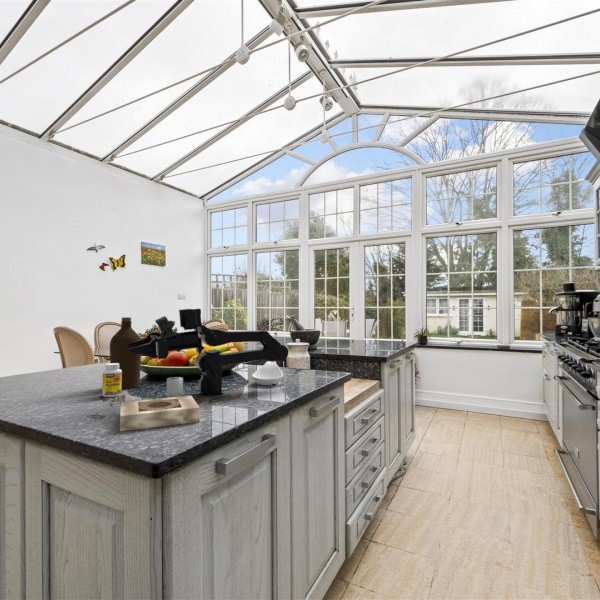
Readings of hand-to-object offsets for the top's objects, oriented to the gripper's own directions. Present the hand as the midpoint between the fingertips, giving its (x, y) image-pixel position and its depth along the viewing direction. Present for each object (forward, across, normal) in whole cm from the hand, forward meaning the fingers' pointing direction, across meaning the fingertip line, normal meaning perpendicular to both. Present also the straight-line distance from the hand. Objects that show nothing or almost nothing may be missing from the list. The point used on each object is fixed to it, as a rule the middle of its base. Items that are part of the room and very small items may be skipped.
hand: (128, 347), depth 113 cm
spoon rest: (-49, -10, +22) cm, 55 cm away
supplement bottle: (+6, -10, +17) cm, 21 cm away
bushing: (-10, +12, +17) cm, 23 cm away
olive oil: (+1, -23, +18) cm, 29 cm away
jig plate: (-5, +23, +15) cm, 28 cm away
